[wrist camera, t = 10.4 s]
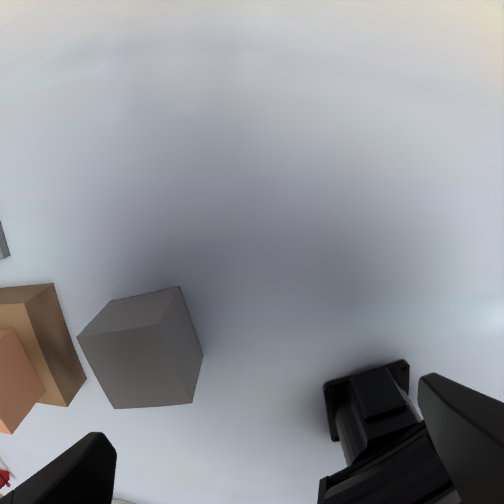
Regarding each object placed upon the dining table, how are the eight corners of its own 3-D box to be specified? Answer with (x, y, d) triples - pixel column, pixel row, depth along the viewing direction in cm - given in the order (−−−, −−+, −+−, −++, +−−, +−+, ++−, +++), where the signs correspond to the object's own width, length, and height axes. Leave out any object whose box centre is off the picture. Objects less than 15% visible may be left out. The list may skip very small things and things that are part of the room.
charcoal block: (203, 354, 21) (192, 403, 16) (137, 363, 21) (114, 409, 16) (179, 285, 19) (158, 323, 14) (110, 300, 20) (76, 337, 15)
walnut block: (88, 376, 22) (67, 407, 18) (20, 370, 22) (-2, 394, 18) (55, 281, 20) (24, 303, 16) (-11, 287, 20) (-41, 305, 16)
